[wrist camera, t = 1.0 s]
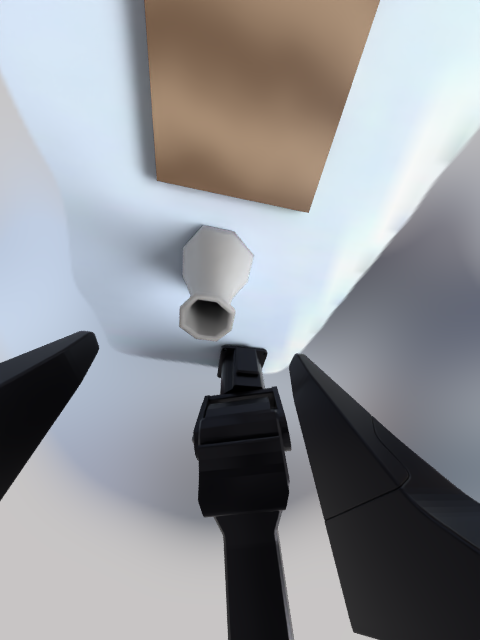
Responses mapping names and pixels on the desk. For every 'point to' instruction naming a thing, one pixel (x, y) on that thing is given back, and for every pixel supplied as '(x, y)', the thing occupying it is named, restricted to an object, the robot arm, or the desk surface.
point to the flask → (213, 281)
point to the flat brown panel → (251, 92)
